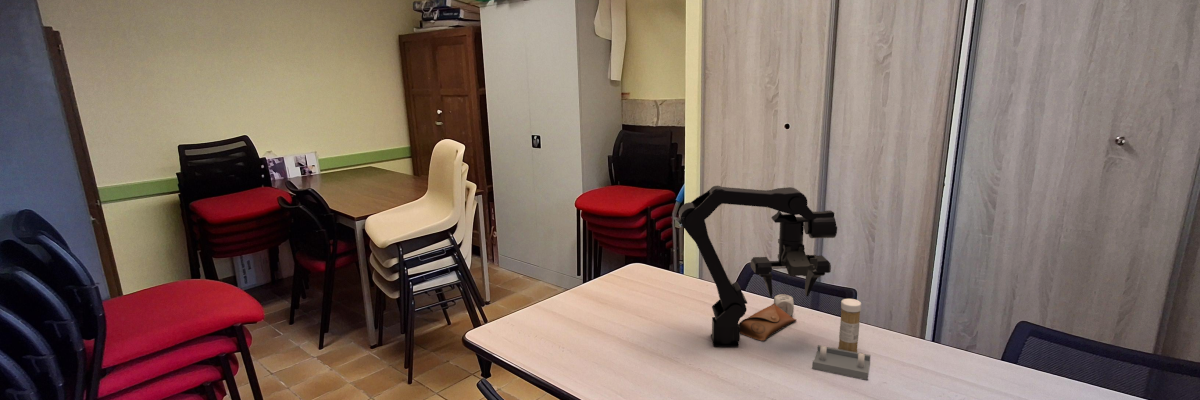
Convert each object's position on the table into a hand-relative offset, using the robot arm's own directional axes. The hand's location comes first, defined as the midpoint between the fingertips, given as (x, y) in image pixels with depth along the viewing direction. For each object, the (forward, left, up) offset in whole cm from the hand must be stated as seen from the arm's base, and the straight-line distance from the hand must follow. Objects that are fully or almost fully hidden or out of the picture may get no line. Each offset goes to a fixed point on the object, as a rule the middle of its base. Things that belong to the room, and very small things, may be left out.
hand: (788, 296), depth 145 cm
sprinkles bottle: (+14, -5, -13) cm, 20 cm away
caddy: (+10, -12, -13) cm, 20 cm away
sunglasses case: (-3, +9, -13) cm, 16 cm away
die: (+4, +18, -13) cm, 23 cm away
